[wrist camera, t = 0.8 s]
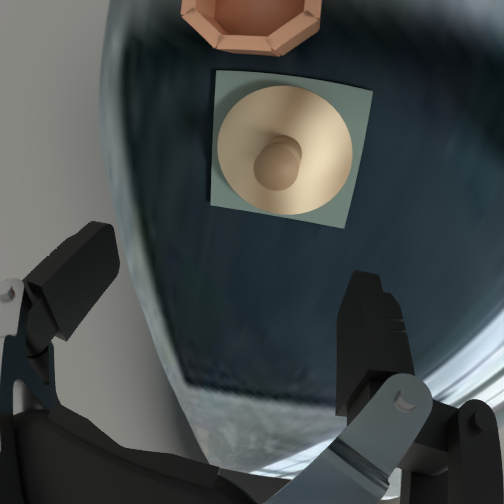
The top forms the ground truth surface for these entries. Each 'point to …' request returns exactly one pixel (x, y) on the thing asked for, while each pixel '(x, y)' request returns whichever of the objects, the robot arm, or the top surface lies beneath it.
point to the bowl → (254, 24)
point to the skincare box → (393, 485)
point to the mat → (338, 95)
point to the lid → (285, 150)
